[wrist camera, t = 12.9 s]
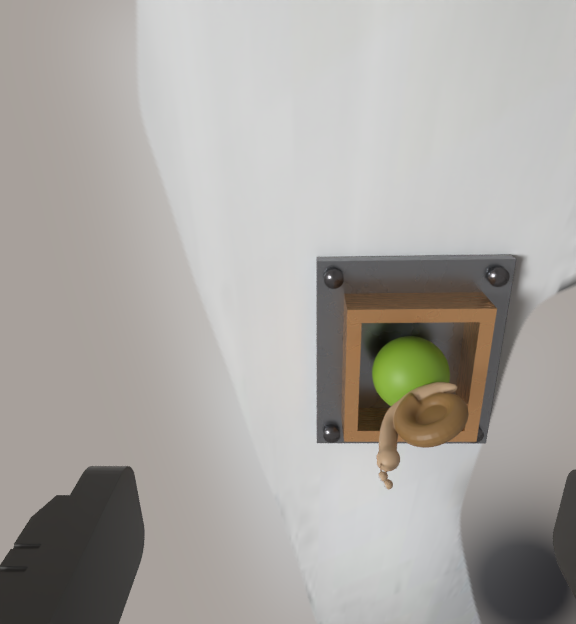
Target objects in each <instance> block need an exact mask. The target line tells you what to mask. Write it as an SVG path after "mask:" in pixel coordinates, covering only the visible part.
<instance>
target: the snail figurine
mask: <svg viewBox="0 0 576 624" xmlns="http://www.w3.org/2000/svg"><path fill="white" fill-rule="evenodd" d="M372 378H373V383H374V386H375V389H376V391H377V392H378V394H379V395H380V397H381V398H382V399H383V400H384V401H385V402H386V403H387V404H388V405H390V406H391V407H390V408H389V409H388V411H387V412H386V414H385V416H384V419H383V421H382V425H381V429H380V436H379V452H378V454H377V465H378V467H379V468H380V471H381V472H380V473H379V475H378V476H379V479H380V480H381V481H384V486H385V488H386V489H391V488H392V486H393V483H392V481H391V480H389V479H387V478H388V475H387V473H386V472H387V471H392V470H394V469H395V468H397V466H398V465H399V462H400V456H399V453H398V452H397V441H398V435H399V436H400V437H401V438H402V439H403V440H404V441H405V442H407V443H408V444H410V445H413V446H417V447H434V446H438V445H441V444H444V443H446V442H448V441H450V440H451V439H453V438H454V437H456V436H457V435H458V434H459V433H460V432H461V431H462V430H463V428H464V427H465V425H466V423H467V420H468V416H469V413H468V407H467V405H466V403H465V402H464V400H463V399H462V398H461V397H459V396H457V395H455V394H451V393H452V392H454V391H456V390H457V386H456V385H455V384H452V383H449V381H450V370H449V365H448V362H447V360H446V358H445V356H444V354H443V353H442V351H441V350H440V349H439V348H438V347H437V346H436V345H434V344H433V343H432V342H430V341H428V340H426V339H423V338H420V337H415V336H405V337H400V338H397V339H394V340H392V341H390V342H389V343H387V344H386V345H385V346H384V347H383V348H382V349H381V350H380V351H379V353H378V354H377V356H376V358H375V360H374V363H373V368H372ZM381 469H382V470H384V471H385V472H383V471H382V470H381Z"/></svg>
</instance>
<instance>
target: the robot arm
mask: <svg viewBox="0 0 576 624" xmlns="http://www.w3.org/2000/svg"><path fill="white" fill-rule="evenodd" d="M553 546H554V552H555V556H556V560H557V563H558V565H559V568H560V570H561V571H562V574H563V576H564V577H565V579H566V581H567V583H568V585H569V587H570V589H571V590H572V592H573V594H574V596H575V598H576V470H572V471H571V472H570V473H569V475H568V477H567V480H566V484H565V488H564V492H563V496H562V500H561V504H560V508H559V512H558V516H557V520H556V524H555V527H554V532H553ZM143 548H144V523H143V518H142V513H141V507H140V502H139V496H138V491H137V486H136V480H135V475H134V472H133V470H132V468H131V467H128V466H90V467H88V468H87V469H86V470H85V471H84V472H83V474H82V476H81V477H80V479H79V481H78V483H77V484H76V486H75V488H74V489H73V491H72V493H71V495H57V496H55V497H54V498H53V499H52V500H51V501H50V502H48V503H47V504H46V505H45V506H44V507H43V508H42V509H40V510H39V511H38V512H37V513H36V514H35V515H33V516H32V517H31V519H30V520H29V522H28V523H27V525H26V526H25V528H24V529H23V531H22V532H21V534H20V535H19V537H18V539H17V540H16V542H15V543H14V548H13V549H11V550H10V551H9V553H8V554H7V555H6V557H5V559H4V560H3V562H2V563H1V565H0V624H119V621H120V618H121V616H122V613H123V610H124V607H125V604H126V601H127V599H128V596H129V593H130V590H131V587H132V585H133V582H134V579H135V576H136V573H137V570H138V568H139V564H140V561H141V558H142V553H143Z"/></svg>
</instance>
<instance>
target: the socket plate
mask: <svg viewBox="0 0 576 624" xmlns="http://www.w3.org/2000/svg"><path fill="white" fill-rule="evenodd" d="M515 263H516V258H515V257H513V256H512V255H440V256H362V257H317V443H379V436H380V429H381V425H382V421H383V419H384V416H385V414H386V412H387V411H388V409H389V408H390V407H391V406H390V405H388V404H387V403H386V402H385V401H384V400H383V399H382V398H381V397H380V395H379V394H378V392H377V391H376V389H375V386H374V383H373V378H372V368H373V363H374V360H375V358H376V356H377V354H378V353H379V351H380V350H381V349H382V348H383V347H384V346H385V345H386V344H387V343H389V342H390V341H392V340H394V339H397V338H400V337H405V336H415V337H420V338H423V339H426V340H428V341H430V342H432V343H433V344H434V345H436V346H437V347H438V348H439V349H440V350H441V351H442V353H443V354H444V356H445V358H446V360H447V362H448V365H449V370H450V381H449V383H452V384H455V385H456V386H457V390H456V391H454V392H452V393H451V394H455V395H457V396H459V397H461V398H462V399H463V400H464V402H465V403H466V405H467V407H468V413H469V416H468V420H467V423H466V425H465V427H464V428H463V430H462V431H461V432H460V433H459V434H458V435H457V436H456V437H454V438H453V439H451V440H450V441H448V442H446V443H486V439H487V433H488V427H489V421H490V415H491V409H492V403H493V397H494V390H495V384H496V378H497V372H498V366H499V360H500V354H501V348H502V342H503V336H504V330H505V324H506V318H507V312H508V306H509V300H510V294H511V288H512V281H513V275H514V269H515ZM397 443H407V442H405V441H404V440H403V439H402V438H401V437H400V436H399V435H398V441H397Z"/></svg>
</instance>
